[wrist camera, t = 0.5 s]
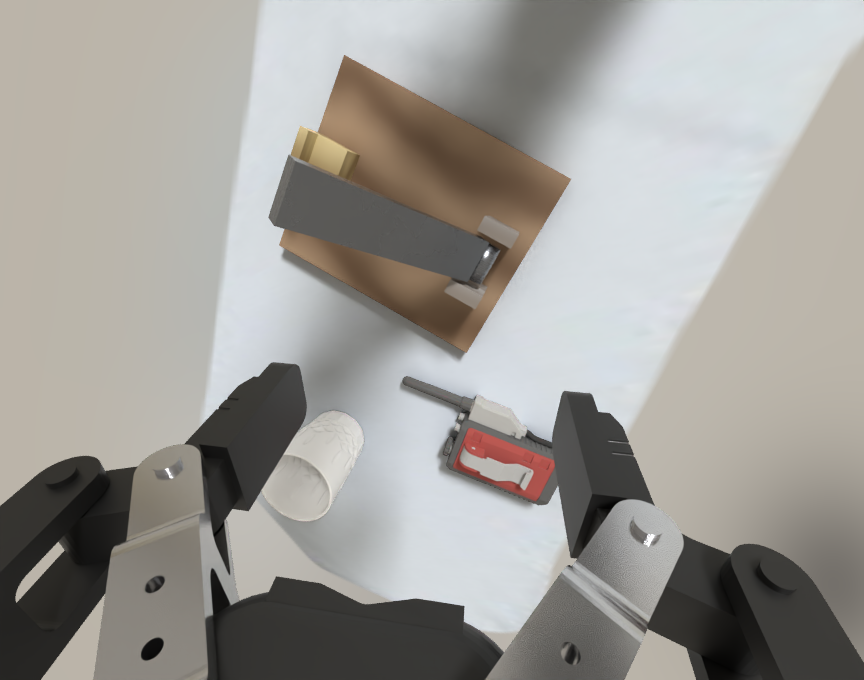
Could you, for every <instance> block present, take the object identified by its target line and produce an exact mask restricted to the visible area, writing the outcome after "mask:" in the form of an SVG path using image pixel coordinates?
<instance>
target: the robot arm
mask: <svg viewBox="0 0 864 680" xmlns="http://www.w3.org/2000/svg"><path fill="white" fill-rule="evenodd" d="M306 408H307V405H306V398H305V393H304V387H303V382H302V376H301V371H300V368H299V366H298V365H296V364H285V363H275V362H273V363H271V364H270V365H269V366H268V367H267V368H266V369H265V370H264V371H263V372H262V373H261V375H260V376H259V377H252V378H251V379H249V380H247V381H246V382H244V383H242V384H241V385H239V386H238V387H237V388H236V389H235V390H234V391H233V392H232V393H231V394H230V395H229V397H228V399H227V400H225V401H224V402H223V403H222V404H221V405H220V406H219V409H218V410H217V409H216V411H215V412H214V413H213V414H212V415H211V416H210V417H209V418H208V419H207V420H206V421H205V422H204V423H203V424H202V426H201V427H200V428H199V429H198V430H197V431H196V432H195V433H194V434H193V435H192V436H191V437H190V438H189V440H188V441H187V442H186V443H185V444H182V445H181V444H180V445H173V446H170V447H166V448H163V449H161V450H159V451H157V452H155V453H153V454H151V455H150V456H149V457H147V458H146V459H145V460H144V461H142V463H141V464H140V465H139V466H138V467H131V468H124V469H116V470H109V471H105V470H104V468H103V466H102V465H101V463H100V461H99V460H98V459H97V458H95V457H91V456H79V457H74V458H70V459H67V460H64V461H61V462H58V463H56V464H54V465H52V466H50V467H48V468H47V469H45V470H43V471H42V472H41V473H39V474H38V475H36V476H35V477H34V478H33V479H32V480H31V481H29V482H28V483H27V484H26V485H25V486H24V487H22V488H21V489H20V490H19V491H17V492H16V493H15V494H14V495H13V496H12V497H10V498H9V499H8V500H7V501H6V502H5V503H3V504H2V505H1V506H0V680H41V679H42V677H43V676H44V675H45V673H46V672H47V671H48V669H49V668H50V667H51V665H52V664H53V663H54V661H55V660H56V658H57V657H58V656H59V654H60V653H61V652H62V650H63V649H64V648H65V647H66V645H67V644H68V643H69V641H70V640H71V638H72V637H73V636H74V634H75V633H76V632H77V630H78V629H79V628H80V626H81V625H82V624H83V622H84V621H85V620H86V618H87V617H88V616H89V614H90V613H91V612H92V610H93V609H94V608H95V606H96V605H97V604H98V602H99V601H100V600H101V598H102V597H103V596H104V594H105V600H104V607H103V615H102V622H101V629H100V636H99V643H98V650H97V658H96V665H95V672H94V679H93V680H624V679H625V677H626V675H627V673H628V671H629V669H630V666H631V664H632V662H633V660H634V658H635V656H636V653H637V651H638V649H639V647H640V645H641V643H642V640H643V638H644V636H645V634H646V631H647V629H649V630H652V631H653V632H655V633H657V634H659V635H661V636H663V637H666V638H667V639H670V640H672V641H674V642H676V643H678V644H680V645H682V646H684V647H686V648H687V651H688V654H689V657H690V661H691V664H692V667H693V671H694V674H695V677H696V680H864V662H863V661H862V659H861V657H860V656H859V654H858V653H857V651H856V649H855V648H854V646H853V645H852V643H851V642H850V640H849V638H848V637H847V635H846V633H845V632H844V630H843V628H842V627H841V625H840V624H839V622H838V620H837V619H836V617H835V616H834V614H833V612H832V611H831V609H830V607H829V606H828V604H827V602H826V601H825V599H824V598H823V596H822V594H821V593H820V591H819V590H818V588H817V587H816V585H815V584H814V582H813V581H812V579H811V578H810V577H809V576H808V575H807V574H806V573H805V572H804V571H803V570H802V569H801V568H800V567H799V566H798V565H796V564H795V563H794V562H793V561H791V560H790V559H788V558H787V557H785V556H784V555H782V554H780V553H778V552H776V551H774V550H772V549H769V548H767V547H764V546H760V545H755V544H744V545H739V546H738V547H736V548H735V549H734V550H733V552H732V553H731V554H728V553H725V552H723V551H721V550H718V549H715V548H713V547H710V546H708V545H705V544H703V543H700V542H698V541H695V540H693V539H691V538H689V537H687V536H685V535H683V534H682V533H681V531H680V529H679V527H678V526H677V524H676V523H675V522H674V521H673V520H672V518H671V517H670V516H669V515H667V514H666V513H665V512H664V511H662V510H661V509H659V508H658V507H656V506H655V505H654V503H653V501H652V498H651V496H650V493H649V491H648V488H647V486H646V483H645V481H644V478H643V476H642V473H641V471H640V469H639V466H638V464H637V461H636V459H635V457H634V456H633V455H634V454H633V452H632V449H631V446H630V445H629V444H628V442H629V441H628V439H627V436H626V434H625V431H624V429H623V427H622V426H621V425H620V424H619V422H618V421H617V420H616V419H615V418H614V417H613V416H612V415H611V414H610V413H602V412H598V410H597V407H596V404H595V401H594V399H593V396H592V394H590V393H580V392H569V391H564V392H563V393H562V396H561V400H560V404H559V408H558V413H557V417H556V421H555V425H554V430H553V436H552V451H553V457H554V463H555V469H556V475H557V481H558V486H559V492H560V498H561V504H562V510H563V516H564V522H565V528H566V533H567V539H568V545H569V551H570V556H571V558H577V560H576V562H575V563H574V564H573V565H572V566H570V565H568V566H567V567H566V568H565V569H564V570H563V571H562V572H561V574H560V575H559V576H558V578H557V579H556V581H555V582H554V583H553V585H552V586H551V588H550V589H549V590H548V592H547V593H546V595H545V596H544V597H543V599H542V600H541V602H540V603H539V605H538V606H537V607H536V609H535V610H534V612H533V613H532V614H531V616H530V617H529V619H528V620H527V621H526V623H525V624H524V626H523V627H522V628H521V630H520V631H519V633H518V634H517V635H516V637H515V638H514V640H513V641H512V643H511V644H510V645H509V647H508V648H507V650H506V651H505V652H503V651H502V650H501V649H500V648H499V647H498V645H497V644H495V642H493V641H492V640H491V639H490V638H489V637H487V636H486V635H485V634H484V633H482V632H481V631H479V630H478V629H476V628H475V627H473V626H471V625H469V624H467V623H465V622H464V606H460V605H454V604H447V603H441V602H435V601H428V600H422V599H409V600H401V601H393V602H385V603H377V604H367V605H365V604H361V603H359V602H357V601H355V600H353V599H351V598H349V597H347V596H344V595H343V594H341V593H339V592H337V591H335V590H333V589H331V588H329V587H327V586H325V585H323V584H320V583H314V582H308V581H301V580H295V579H289V578H283V577H276V578H275V580H274V582H273V585H272V587H271V589H270V591H269V592H267V593H262V594H258V595H254V596H251V597H249V598H246V599H243V600H241V601H240V600H239V596H238V593H237V589H236V583H235V576H234V568H233V561H232V553H231V545H230V538H229V530H228V524H227V520H226V517H227V516H228V514H229V513H230V511H231V510H232V509H237V510H245V511H249V509H250V508H251V506H252V505H253V503H254V502H255V500H256V498H257V497H258V495H259V493H260V492H261V490H262V488H263V487H264V485H265V484H266V482H267V480H268V479H269V477H270V475H271V474H272V472H273V471H274V469H275V467H276V466H277V464H278V462H279V461H280V459H281V458H282V456H283V454H284V453H285V451H286V449H287V448H288V446H289V445H290V443H291V441H292V440H293V438H294V436H295V435H296V433H297V431H298V430H299V428H300V427H301V425H302V423H303V421H304V419H305V415H306ZM57 542H59V543H60V544H61V545H62V547H63V548H64V550H65V551H64V552H63V553H62V554H61V555H60V556H59V557H58V558H57V559H56V560H55V562H54V563H53V564H52V565H51V566H50V567H49V568H48V569H47V570H46V571H45V572H44V574H43V575H42V576H41V577H40V578H39V579H38V580H37V581H36V582H35V583H34V585H33V586H32V587H31V588H30V589H29V590H28V591H27V592H26V593H25V594H24V596H23V597H22V598H21V599H20V600H19V601H18V602H17V603H16V601H15V596H16V591H17V589H18V586H19V585H20V583H21V581H22V580H23V579H24V577H25V576H26V575H27V574H28V573H29V572H30V571H31V570H32V569H33V568H34V567H35V566H36V564H37V563H38V562H39V561H40V560H41V559H42V558H43V557H44V556H45V555H46V554H47V553H48V552H49V551H50V550H51V549H52V548H53V546H54V545H55V544H56V543H57Z"/></svg>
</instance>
